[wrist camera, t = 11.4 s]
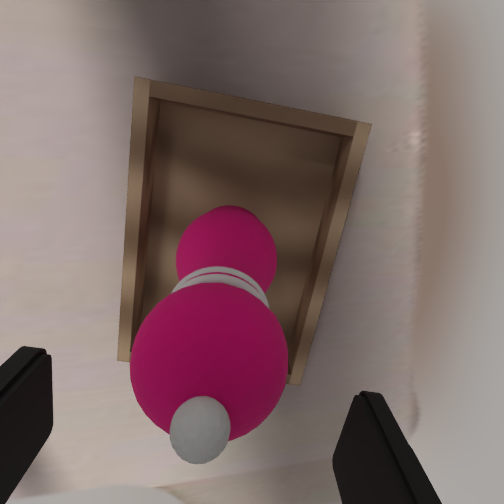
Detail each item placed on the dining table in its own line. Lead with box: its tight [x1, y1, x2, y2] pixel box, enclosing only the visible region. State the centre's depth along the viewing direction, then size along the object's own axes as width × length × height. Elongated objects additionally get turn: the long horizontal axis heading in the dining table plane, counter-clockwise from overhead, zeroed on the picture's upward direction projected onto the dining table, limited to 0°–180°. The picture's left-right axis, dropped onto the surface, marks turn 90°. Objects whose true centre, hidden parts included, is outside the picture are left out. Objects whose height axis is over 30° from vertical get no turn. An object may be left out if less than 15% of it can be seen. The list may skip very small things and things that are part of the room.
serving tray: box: [117, 76, 372, 386], centre depth 27 cm, size 22×16×4 cm
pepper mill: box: [130, 205, 288, 464], centre depth 18 cm, size 7×7×20 cm
